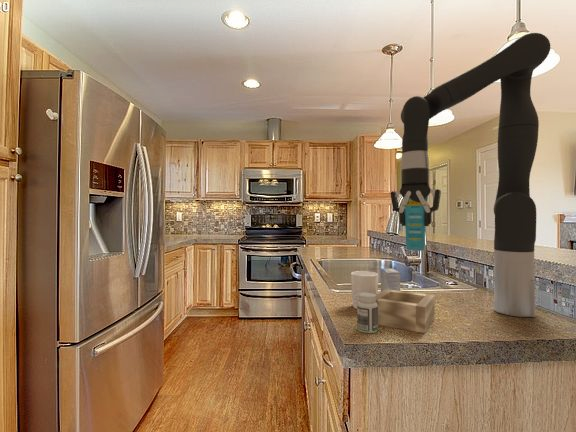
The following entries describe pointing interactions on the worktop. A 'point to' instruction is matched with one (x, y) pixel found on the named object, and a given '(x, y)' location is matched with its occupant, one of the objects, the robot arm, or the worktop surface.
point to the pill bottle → (367, 313)
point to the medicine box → (390, 279)
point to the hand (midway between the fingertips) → (415, 225)
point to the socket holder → (405, 310)
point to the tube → (415, 225)
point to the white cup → (363, 284)
